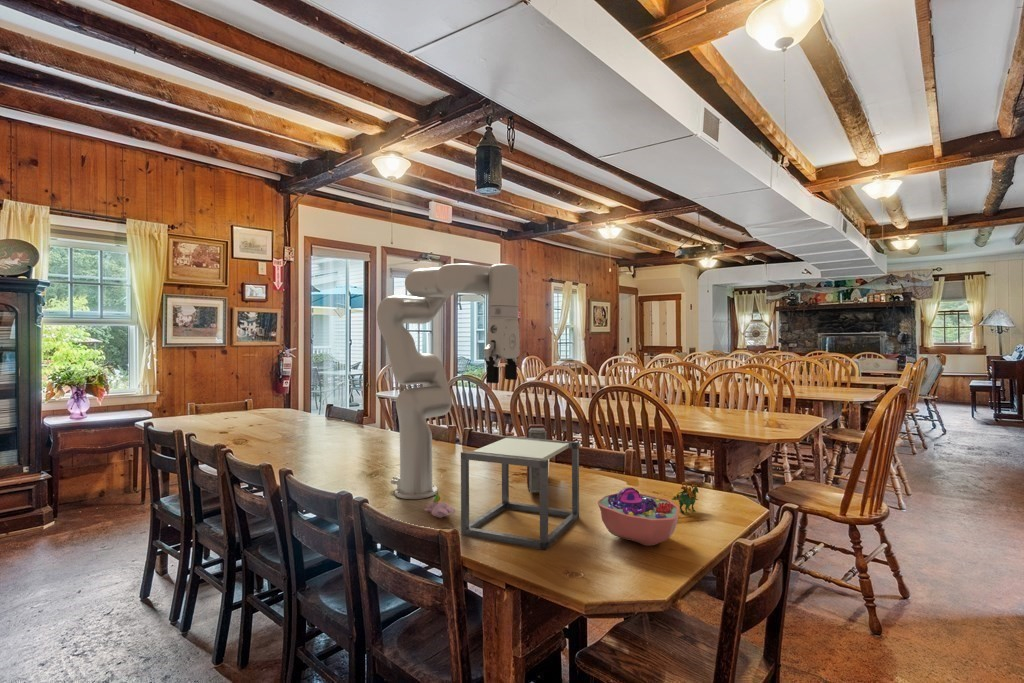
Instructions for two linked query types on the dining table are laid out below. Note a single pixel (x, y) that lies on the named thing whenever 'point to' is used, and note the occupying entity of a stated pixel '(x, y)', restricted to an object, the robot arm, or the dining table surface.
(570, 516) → the frame
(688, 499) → the figurine
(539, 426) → the decorative stone tablet
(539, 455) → the trapdoor plate
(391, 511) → the dining table surface
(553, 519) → the dining table surface
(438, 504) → the rabbit figure
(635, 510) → the cell model
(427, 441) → the robot arm
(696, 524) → the dining table surface
